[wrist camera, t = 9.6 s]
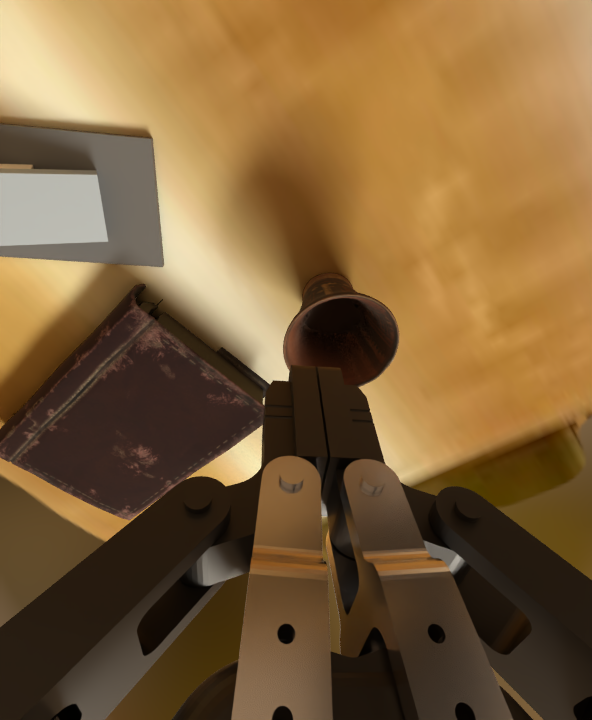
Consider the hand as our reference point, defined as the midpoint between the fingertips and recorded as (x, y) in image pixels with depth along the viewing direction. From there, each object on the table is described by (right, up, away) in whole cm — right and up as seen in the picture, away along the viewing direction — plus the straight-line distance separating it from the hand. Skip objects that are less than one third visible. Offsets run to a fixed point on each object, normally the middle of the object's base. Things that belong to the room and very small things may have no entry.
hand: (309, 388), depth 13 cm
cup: (+3, +7, +27) cm, 28 cm away
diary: (-18, -4, +34) cm, 38 cm away
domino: (-16, +13, +19) cm, 28 cm away
